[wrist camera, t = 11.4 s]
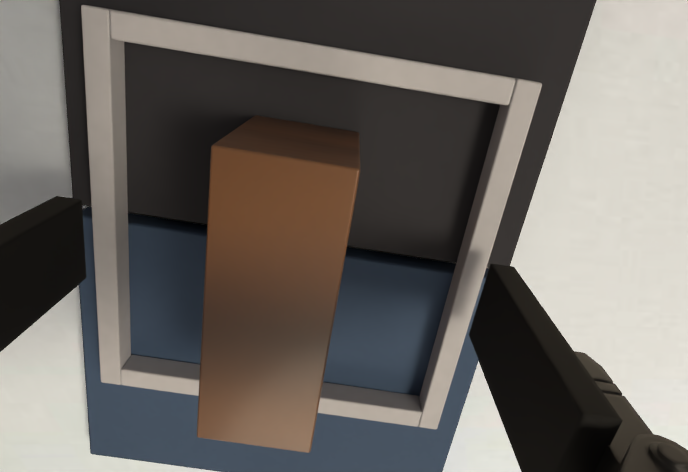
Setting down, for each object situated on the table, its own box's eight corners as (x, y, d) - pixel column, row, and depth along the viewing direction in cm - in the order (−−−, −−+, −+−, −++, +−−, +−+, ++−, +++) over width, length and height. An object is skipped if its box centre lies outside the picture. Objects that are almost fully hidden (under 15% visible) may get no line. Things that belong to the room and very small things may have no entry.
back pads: (65, -201, 13) (17, -241, 11) (614, -99, 14) (655, -122, 12) (100, 437, 22) (77, 473, 20) (430, 482, 23) (436, 521, 21)
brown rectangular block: (254, 114, 15) (210, 144, 11) (359, 132, 15) (360, 169, 11) (235, 341, 19) (195, 438, 14) (321, 353, 19) (310, 454, 14)
